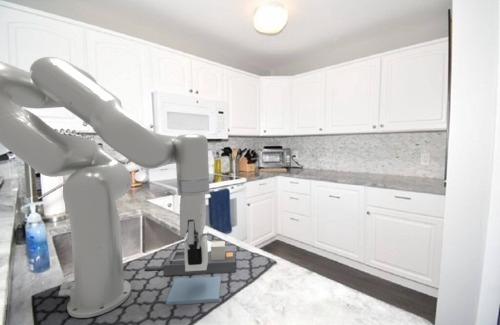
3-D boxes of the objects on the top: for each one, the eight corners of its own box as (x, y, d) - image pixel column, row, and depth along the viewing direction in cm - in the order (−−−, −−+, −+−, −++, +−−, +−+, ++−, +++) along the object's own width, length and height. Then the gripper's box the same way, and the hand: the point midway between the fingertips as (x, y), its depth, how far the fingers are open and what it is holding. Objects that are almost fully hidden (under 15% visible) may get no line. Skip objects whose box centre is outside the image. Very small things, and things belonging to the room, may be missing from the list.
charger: (185, 271, 54) (183, 238, 53) (188, 262, 58) (187, 231, 57) (206, 270, 54) (205, 237, 54) (208, 261, 58) (207, 230, 58)
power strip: (139, 277, 63) (138, 252, 62) (148, 263, 70) (147, 241, 69) (235, 272, 65) (235, 248, 64) (235, 259, 72) (234, 238, 71)
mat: (166, 305, 52) (166, 301, 52) (175, 281, 61) (175, 278, 61) (219, 301, 53) (219, 298, 53) (220, 279, 62) (220, 276, 62)
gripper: (184, 181, 63) (187, 245, 64) (167, 194, 46) (172, 280, 48) (212, 180, 63) (214, 243, 65) (205, 192, 47) (208, 277, 48)
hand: (196, 258), depth 56 cm, fingers closed on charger, 4 cm apart
